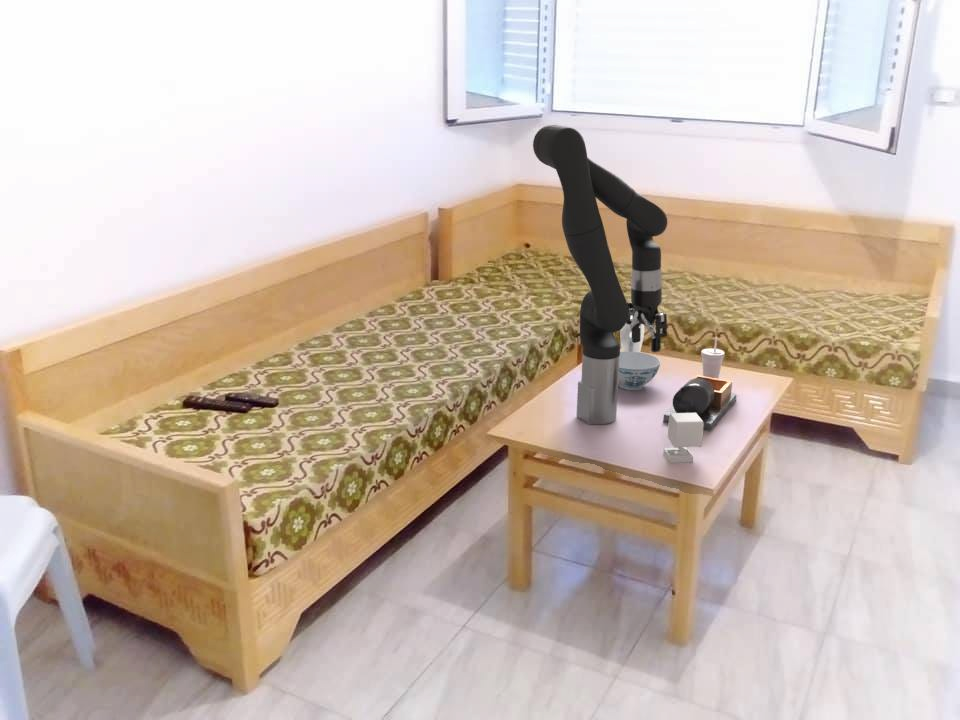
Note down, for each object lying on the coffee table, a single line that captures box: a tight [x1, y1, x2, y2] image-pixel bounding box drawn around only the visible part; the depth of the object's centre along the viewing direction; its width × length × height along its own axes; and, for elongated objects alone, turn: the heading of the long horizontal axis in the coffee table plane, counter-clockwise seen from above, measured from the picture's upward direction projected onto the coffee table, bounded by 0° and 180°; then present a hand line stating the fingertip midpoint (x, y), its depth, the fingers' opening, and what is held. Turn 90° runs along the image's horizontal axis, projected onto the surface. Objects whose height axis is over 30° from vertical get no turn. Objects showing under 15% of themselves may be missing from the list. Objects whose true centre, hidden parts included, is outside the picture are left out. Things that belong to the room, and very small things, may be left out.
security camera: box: [663, 413, 704, 464], centre depth 206 cm, size 6×7×10 cm
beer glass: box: [619, 315, 645, 352], centre depth 265 cm, size 7×7×15 cm
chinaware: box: [618, 351, 661, 391], centre depth 251 cm, size 15×15×8 cm
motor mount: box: [663, 374, 737, 432], centre depth 233 cm, size 24×12×10 cm, turn 150°
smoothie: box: [700, 336, 726, 379], centre depth 251 cm, size 6×6×14 cm
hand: (645, 346), depth 230 cm, fingers open, 8 cm apart
